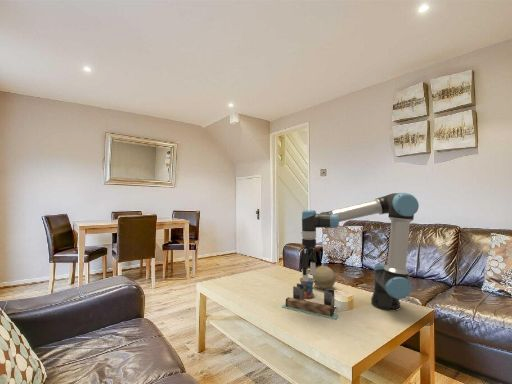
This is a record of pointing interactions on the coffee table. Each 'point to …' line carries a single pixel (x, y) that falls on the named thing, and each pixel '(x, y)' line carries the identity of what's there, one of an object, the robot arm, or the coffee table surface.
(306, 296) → the mug
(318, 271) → the decorative ball
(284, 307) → the mat
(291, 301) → the rail
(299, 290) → the post
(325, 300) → the post
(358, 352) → the coffee table surface
